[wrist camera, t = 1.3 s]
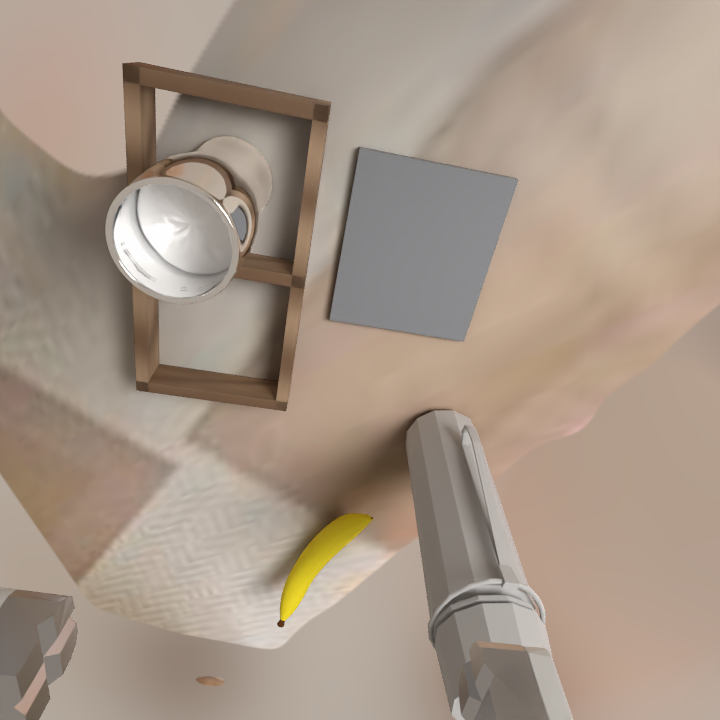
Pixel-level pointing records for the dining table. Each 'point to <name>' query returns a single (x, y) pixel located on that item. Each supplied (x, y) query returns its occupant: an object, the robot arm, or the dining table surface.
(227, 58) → the dining table surface
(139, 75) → the frame
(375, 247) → the charcoal mat
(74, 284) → the dining table surface
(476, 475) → the water bottle
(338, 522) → the banana
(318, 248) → the dining table surface
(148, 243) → the beer glass
